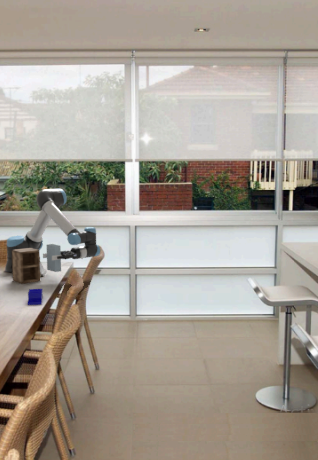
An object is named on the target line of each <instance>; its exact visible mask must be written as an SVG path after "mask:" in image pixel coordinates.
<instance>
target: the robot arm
mask: <svg viewBox="0 0 318 460" xmlns="http://www.w3.org/2000/svg"><path fill="white" fill-rule="evenodd" d="M67 201H68V197H67V194H66V192H65V191H64V189H62V188H57V187H56V188H48V189H47V188H45V189H42V190H40V191H39V192H38V193H37V195H36V204H37V206H38V207H39V209H40V211H39V214H38V215H37V217H36V219H35V221H34V223H33V225H32V227H31V229H30V230H28V231H27V232H26V233H25V235H24V236H23V235H14V236H10V237H8V238H7V239H6V253H7V254H6V255H7V256H6V257H7V260H6V263H5V267H4V271H5V272H7V273H12V250H15V249H23V248H33V249H38V250H39V251H40V250H41V249H42V248H43V246H44V244H43V242H44V240H43V235H44V233H45V231H46V228H47V227H48V225H49V223H50V221H51V220H52V221H53V222H54V223H55V224H56V226H58V228H59V229H60V230H61V231H62V232H63V233H64V234H65V236H66V237H67V238H66V239H67V242H68V244H69V245H71V246H74V247H71V248H70V250H61V255H55V256H52V260H59V259H61V260H68V259H72V260H79V259H81V260H83V259H85V258H94V257H98V256H100V254H101V247H100V246H99V244H97V229H96V228H95V227H93V226H86V227H84V230H83V231H79V230H78V229H77V228H76V227H75V226H74V225H73V223H72V222H71V221H70V220H69V219H68V218H67V216H65V214H64V213H63V212H62V211H61V210H60V208H61V206H64V205H65V204H66V203H67ZM81 244H82V246H78V245H81ZM83 244H84V246H83ZM75 246H76V247H75ZM42 258H43V259H47V252H46V253H42Z"/></svg>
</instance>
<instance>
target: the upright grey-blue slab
mask: <svg viewBox="0 0 318 460" xmlns="http://www.w3.org/2000/svg"><path fill="white" fill-rule="evenodd" d="M61 251H62V250H61V245H59V244H54V243H49V244H46V253H47V258H46V271H51V272H54V273H58V272H62V259H59V260H52V256H55V255H61Z"/></svg>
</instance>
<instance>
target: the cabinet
mask: <svg viewBox="0 0 318 460" xmlns="http://www.w3.org/2000/svg"><path fill="white" fill-rule="evenodd" d="M40 262H41V256H40V250H38V249H33V248H23V249H15V250H12V272H11V273H12V282H15V283H17V284H21V285H23V284H31V283H36V282H41V277H42V276H41V274H40Z"/></svg>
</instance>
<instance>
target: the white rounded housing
mask: <svg viewBox="0 0 318 460" xmlns="http://www.w3.org/2000/svg"><path fill="white" fill-rule="evenodd" d="M47 273H48V270H47V268H46V269H45V268H44V266H43V264H42V262H41V261H40V274H41V277H43V278H45V276H46V274H47Z"/></svg>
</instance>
